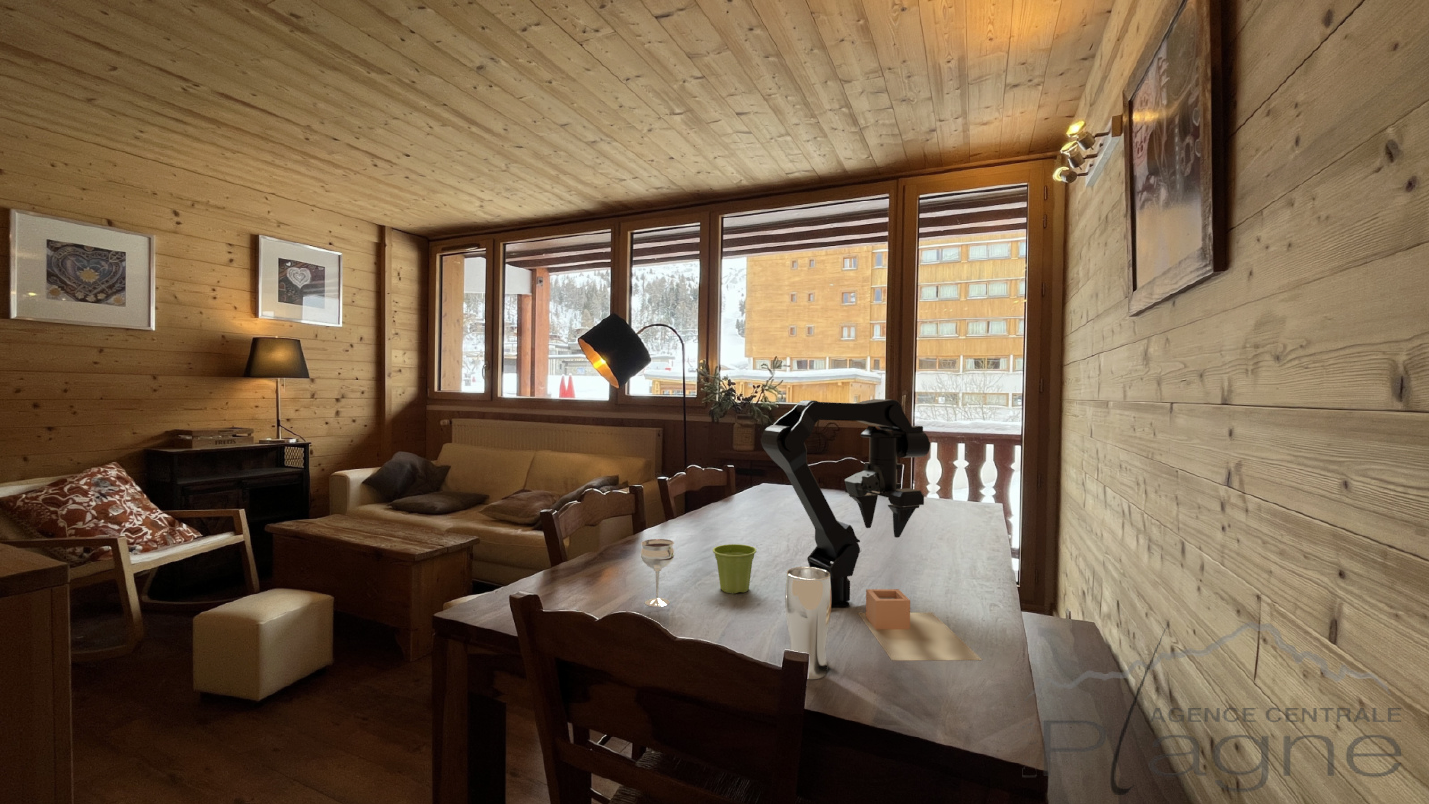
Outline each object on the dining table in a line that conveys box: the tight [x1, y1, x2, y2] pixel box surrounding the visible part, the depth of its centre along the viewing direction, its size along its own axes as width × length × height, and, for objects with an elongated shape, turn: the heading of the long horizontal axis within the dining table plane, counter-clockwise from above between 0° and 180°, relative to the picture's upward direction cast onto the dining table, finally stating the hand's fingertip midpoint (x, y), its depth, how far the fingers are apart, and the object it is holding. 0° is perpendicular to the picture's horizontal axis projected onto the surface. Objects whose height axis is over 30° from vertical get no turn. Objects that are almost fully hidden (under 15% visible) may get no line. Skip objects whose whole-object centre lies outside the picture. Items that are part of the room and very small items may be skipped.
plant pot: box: [712, 543, 757, 594], centre depth 130 cm, size 9×9×9 cm
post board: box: [858, 598, 983, 662], centre depth 103 cm, size 14×20×6 cm
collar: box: [865, 588, 911, 629], centre depth 108 cm, size 6×6×5 cm
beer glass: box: [784, 566, 832, 680], centre depth 92 cm, size 7×7×15 cm
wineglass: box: [640, 538, 675, 608], centre depth 122 cm, size 7×7×12 cm
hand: (882, 532), depth 128 cm, fingers open, 9 cm apart
